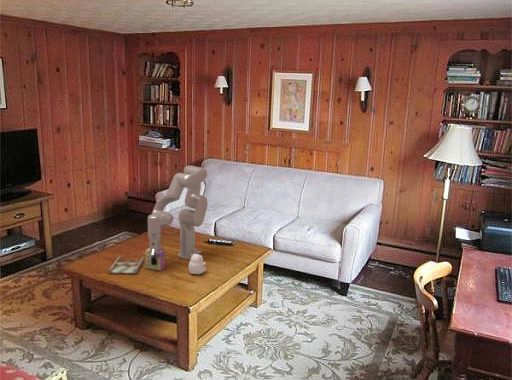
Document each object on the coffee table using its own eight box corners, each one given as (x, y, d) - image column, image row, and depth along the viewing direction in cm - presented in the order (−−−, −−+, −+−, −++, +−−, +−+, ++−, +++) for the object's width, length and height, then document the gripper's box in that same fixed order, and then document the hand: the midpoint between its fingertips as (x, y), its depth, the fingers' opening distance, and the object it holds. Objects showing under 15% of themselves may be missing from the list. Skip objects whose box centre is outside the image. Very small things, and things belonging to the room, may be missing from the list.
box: (165, 267, 264) (165, 249, 262) (160, 270, 259) (160, 252, 256) (150, 264, 268) (150, 246, 265) (145, 268, 262) (145, 250, 259)
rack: (144, 261, 272) (143, 257, 272) (136, 274, 253) (136, 270, 252) (118, 260, 272) (118, 256, 271) (108, 274, 252) (108, 269, 252)
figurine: (197, 278, 251) (197, 259, 249) (184, 274, 256) (184, 255, 254) (207, 272, 260) (208, 253, 257) (195, 268, 265) (195, 250, 262)
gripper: (157, 239, 250) (158, 268, 254) (163, 230, 267) (164, 256, 271) (145, 239, 250) (146, 267, 254) (151, 229, 267) (152, 256, 271)
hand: (155, 261), depth 262 cm, fingers closed on box, 7 cm apart
